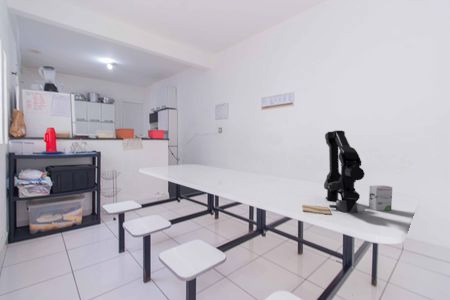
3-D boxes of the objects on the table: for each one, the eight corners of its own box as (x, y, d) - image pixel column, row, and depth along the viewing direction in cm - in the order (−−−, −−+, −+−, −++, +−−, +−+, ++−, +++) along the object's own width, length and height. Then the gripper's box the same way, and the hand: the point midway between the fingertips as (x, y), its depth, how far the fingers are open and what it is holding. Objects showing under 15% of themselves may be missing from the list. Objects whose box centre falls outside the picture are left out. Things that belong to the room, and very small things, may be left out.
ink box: (383, 207, 110) (384, 184, 110) (392, 210, 105) (393, 186, 105) (368, 207, 109) (369, 184, 109) (375, 210, 104) (377, 186, 104)
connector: (328, 208, 107) (329, 199, 107) (362, 211, 103) (362, 202, 102) (330, 210, 103) (330, 201, 103) (364, 214, 99) (365, 204, 99)
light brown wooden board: (302, 205, 110) (302, 204, 110) (327, 208, 106) (327, 207, 106) (302, 211, 101) (302, 210, 101) (330, 214, 97) (330, 213, 97)
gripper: (326, 173, 114) (325, 202, 114) (332, 178, 96) (330, 212, 97) (350, 174, 110) (348, 204, 111) (360, 180, 93) (359, 215, 93)
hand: (346, 208), depth 103 cm, fingers open, 9 cm apart
